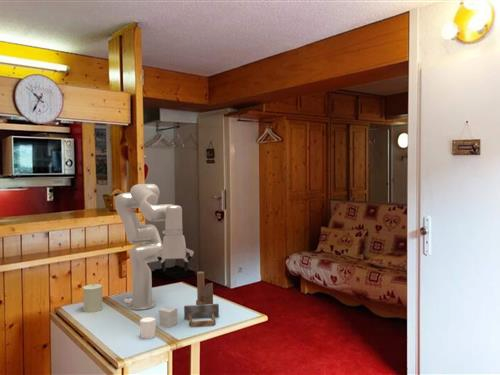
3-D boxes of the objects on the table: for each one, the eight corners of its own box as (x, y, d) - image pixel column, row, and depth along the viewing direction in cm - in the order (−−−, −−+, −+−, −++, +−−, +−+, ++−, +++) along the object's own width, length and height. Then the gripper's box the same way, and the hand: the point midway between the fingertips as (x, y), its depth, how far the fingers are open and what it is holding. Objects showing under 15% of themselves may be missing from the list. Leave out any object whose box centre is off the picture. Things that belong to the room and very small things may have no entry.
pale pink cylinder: (141, 332, 177) (141, 316, 177) (157, 332, 178) (157, 316, 177) (138, 339, 170) (138, 322, 170) (155, 338, 171) (155, 322, 170)
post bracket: (184, 327, 182) (184, 314, 182) (184, 318, 194) (184, 305, 194) (220, 325, 185) (220, 312, 185) (218, 316, 196) (218, 303, 196)
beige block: (167, 321, 190) (167, 305, 190) (178, 323, 187) (178, 307, 187) (158, 326, 185) (158, 309, 184) (169, 328, 182) (169, 312, 181)
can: (103, 305, 213) (103, 282, 213) (102, 311, 204) (101, 287, 204) (84, 307, 211) (83, 283, 210) (82, 313, 202) (81, 288, 201)
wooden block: (207, 313, 201) (206, 276, 200) (195, 307, 210) (195, 272, 209) (213, 311, 203) (213, 275, 202) (202, 305, 212) (201, 270, 211)
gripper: (152, 234, 183) (154, 273, 183) (192, 233, 183) (193, 272, 183) (156, 232, 190) (157, 269, 191) (194, 231, 190) (195, 268, 191)
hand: (175, 270), depth 187 cm, fingers open, 9 cm apart
